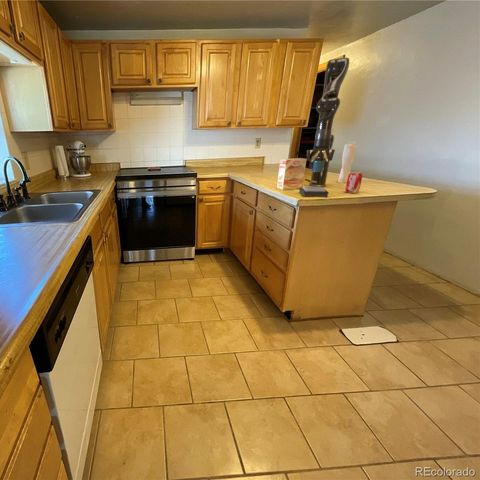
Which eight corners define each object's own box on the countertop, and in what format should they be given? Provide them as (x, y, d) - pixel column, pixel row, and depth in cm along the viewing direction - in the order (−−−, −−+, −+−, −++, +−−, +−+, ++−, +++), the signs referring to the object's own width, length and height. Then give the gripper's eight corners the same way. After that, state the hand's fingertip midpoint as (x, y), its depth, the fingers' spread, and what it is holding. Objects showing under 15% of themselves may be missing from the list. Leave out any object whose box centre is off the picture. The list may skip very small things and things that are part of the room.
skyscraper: (346, 183, 188) (354, 141, 178) (334, 182, 194) (342, 141, 184) (351, 182, 192) (360, 141, 182) (340, 181, 198) (348, 141, 188)
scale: (298, 192, 168) (299, 187, 167) (321, 192, 165) (322, 187, 164) (303, 196, 156) (304, 191, 155) (328, 197, 152) (329, 192, 151)
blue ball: (310, 170, 159) (311, 160, 157) (321, 170, 157) (323, 160, 155) (312, 172, 153) (314, 161, 151) (324, 171, 152) (326, 161, 150)
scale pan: (302, 188, 165) (302, 186, 165) (320, 188, 162) (320, 186, 162) (306, 191, 156) (306, 189, 156) (325, 192, 154) (325, 189, 153)
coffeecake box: (282, 190, 176) (286, 159, 169) (276, 188, 183) (279, 159, 176) (302, 188, 179) (307, 158, 172) (295, 186, 185) (299, 157, 178)
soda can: (360, 193, 157) (365, 172, 153) (347, 193, 159) (352, 173, 154) (355, 191, 164) (359, 171, 159) (342, 191, 165) (346, 171, 161)
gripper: (335, 137, 150) (329, 167, 156) (307, 138, 154) (302, 167, 160) (339, 137, 143) (333, 169, 149) (310, 138, 147) (305, 169, 153)
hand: (317, 168), depth 155 cm, fingers closed on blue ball, 6 cm apart
